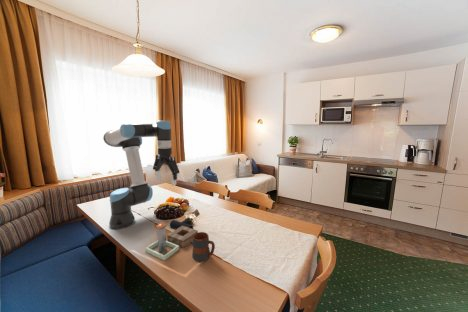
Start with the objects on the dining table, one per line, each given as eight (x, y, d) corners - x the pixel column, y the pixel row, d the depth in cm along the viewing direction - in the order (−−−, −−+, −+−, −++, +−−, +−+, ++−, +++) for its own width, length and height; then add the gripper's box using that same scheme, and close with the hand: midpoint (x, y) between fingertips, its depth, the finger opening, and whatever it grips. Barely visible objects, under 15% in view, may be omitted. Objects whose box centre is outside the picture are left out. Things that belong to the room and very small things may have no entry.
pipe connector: (182, 214, 135) (199, 219, 128) (182, 221, 136) (199, 226, 129) (169, 221, 125) (187, 227, 118) (170, 229, 126) (187, 235, 119)
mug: (210, 266, 91) (210, 244, 90) (189, 260, 96) (188, 238, 94) (218, 255, 99) (218, 234, 98) (198, 250, 104) (197, 230, 102)
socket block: (167, 243, 110) (167, 234, 109) (182, 233, 120) (182, 225, 120) (183, 249, 104) (183, 240, 104) (197, 238, 115) (197, 230, 114)
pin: (155, 252, 101) (153, 225, 99) (163, 247, 105) (161, 221, 103) (162, 255, 99) (160, 227, 97) (169, 249, 103) (168, 223, 101)
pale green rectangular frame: (145, 253, 101) (145, 247, 101) (161, 243, 110) (160, 238, 109) (164, 262, 94) (164, 256, 94) (179, 250, 103) (179, 245, 103)
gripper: (145, 146, 115) (147, 181, 118) (174, 150, 102) (176, 188, 106) (156, 145, 121) (157, 178, 125) (185, 148, 109) (186, 185, 112)
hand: (166, 183), depth 115 cm, fingers open, 13 cm apart
